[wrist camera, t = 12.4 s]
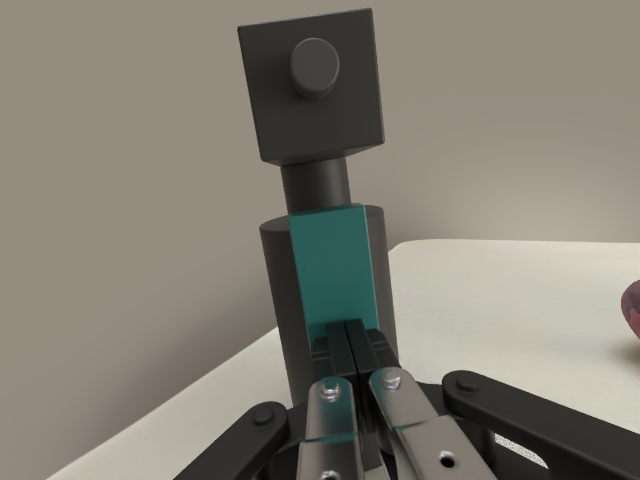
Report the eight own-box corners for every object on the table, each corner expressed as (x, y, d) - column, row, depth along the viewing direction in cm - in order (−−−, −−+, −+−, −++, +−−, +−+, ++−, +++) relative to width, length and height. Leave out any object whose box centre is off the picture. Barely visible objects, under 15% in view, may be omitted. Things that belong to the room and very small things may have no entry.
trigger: (383, 366, 13) (365, 205, 12) (314, 378, 13) (287, 217, 12) (377, 351, 15) (359, 201, 13) (313, 361, 15) (288, 213, 13)
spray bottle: (483, 605, 12) (453, -27, 7) (297, 641, 12) (152, 13, 7) (388, 380, 24) (356, 99, 20) (299, 395, 24) (247, 115, 20)
